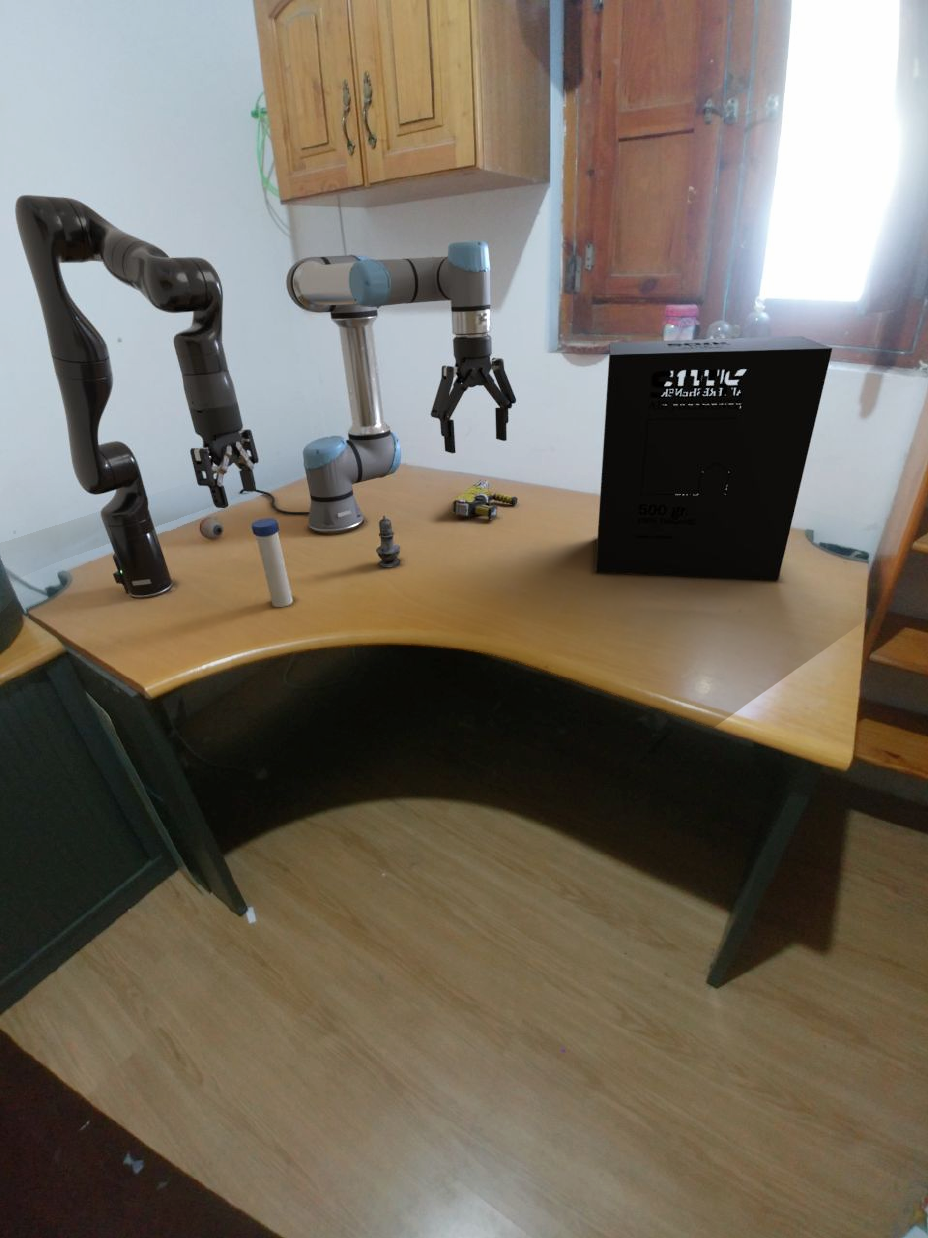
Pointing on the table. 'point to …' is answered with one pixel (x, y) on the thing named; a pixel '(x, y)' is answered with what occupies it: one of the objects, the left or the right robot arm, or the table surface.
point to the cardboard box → (705, 455)
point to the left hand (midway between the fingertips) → (236, 498)
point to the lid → (265, 527)
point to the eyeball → (211, 528)
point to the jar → (275, 570)
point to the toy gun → (480, 501)
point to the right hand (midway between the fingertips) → (476, 445)
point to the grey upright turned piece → (387, 545)
